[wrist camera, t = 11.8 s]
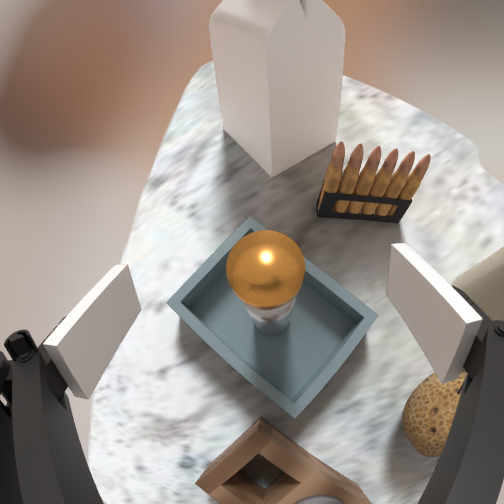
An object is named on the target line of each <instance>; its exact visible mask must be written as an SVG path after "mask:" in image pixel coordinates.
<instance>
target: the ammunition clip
mask: <svg viewBox="0 0 504 504" xmlns="http://www.w3.org/2000/svg"><path fill="white" fill-rule="evenodd" d="M344 157H345V147H344V143H343V142H342V141H341V142H340V143H339V144H338V145H337V146H336V148H335V150H334V152H333V154H332V158H331V161H330V164H329V166H328V168H327V171H326V175H325V180H324V181H323V185H322V188H321V191H320V195H319V198H318V201H317V216H318V217H327V218H342V219H356V220H369V221H382V222H394V223H399V221H400V220H401V218H402V217H403V215H404V214H405V212H406V211H407V209H408V208H409V206H410V204H411V203H412V199H411V198H412V197H413V195H414V194H415V192H416V191H417V189H418V188H419V186H420V184H421V181H422V179H423V177H424V175H425V173H426V171H427V169H428V167H429V163H430V154H428V155H426V156H424V157H423V158H422V159H421V160H420V161H419V163H418V164H417V165H416V167H415V169H414V170H413V171H412V173H411V174H410V175H409V172H410V170H411V168H412V166H413V163H414V159H415V152H414V151H412V152H410V153H409V154H408V155H407V156H406V157H405V158H404V159H403V161H402V162H401V164H400V166H399V167H398V169H397V171H396V172H395V173H394V174H393V175H392V173H393V171H394V168H395V166H396V163H397V159H398V149H397V148H396V149H394V150H392V151H391V152H390V154H389V155H388V156H387V158H386V159H385V161H384V163H383V165H382V167H381V169H380V170H379V171H378V172H377V174H376V171H377V169H378V165H379V162H380V158H381V147H380V146H377V147H376V148H375V149H374V150H373V151H372V152H371V154H370V156H369V158H368V160H367V162H366V164H365V166H364V168H363V169H362V171H361V172H360V175H359V171H360V167H361V163H362V159H363V146H362V144H359V145H357V146H356V148H355V149H354V151H353V152H352V154H351V157H350V160H349V162H348V164H347V167H346V168H345V170H344V172H343V175H342V168H343V162H344ZM408 175H409V176H408ZM341 178H342V179H341Z"/></svg>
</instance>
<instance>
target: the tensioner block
mask: <svg viewBox="0 0 504 504" xmlns="http://www.w3.org/2000/svg"><path fill="white" fill-rule="evenodd" d="M258 453H259V454H260V455H262V456H263V457H264V458H266V459H267V460H268V461H270V462H271V463H273V464H274V465H275V466H277V467H278V468H280V469H281V470H282V471H284V472H285V473H284V474H283V475H282V476H281V477H279V478H278V479H277V480H276V481H275V482H274V483H272V484H271V485H270V486H269V487H268V488H266V489H264V488H262V487H261V486H259V485H258V484H257V483H255V482H254V481H252V480H251V479H250V478H248V477H247V476H245V475H244V474H243V473H241V472H240V471H239V470H240V469H241V468H242V467H243V466H245V465H246V464H247V463H248V462H249V461H250V460H251V459H253V458H254V457H255V456H256V455H257V454H258ZM195 484H196V485H197V486H199V487H200V488H201V489H202V490H204V491H205V492H206V493H208V494H209V495H210V496H211V497H213V498H214V499H215V500H217V501H218V502H220V503H221V504H372V503H371V502H370V501H369V499H368V498H367V497H366V495H365V494H364V493H363V491H362V490H361V489H360V487H359V486H358V484H357V483H355V482H353V481H351V480H350V479H348V478H347V477H345V476H343V475H342V474H340V473H339V472H337V471H335V470H334V469H332V468H331V467H329V466H328V465H326V464H325V463H323V462H322V461H320V460H319V459H317V458H316V457H314V456H313V455H311V454H310V453H309V452H307V451H306V450H304V449H303V448H302V447H300V446H299V445H297V444H296V443H295V442H293V441H292V440H291V439H289V438H288V437H287V436H285V435H284V434H283V433H281V432H280V431H279V430H277V429H276V428H275V427H274V426H272V425H271V424H270V423H268V422H267V421H266V420H265V419H263V418H262V417H260V418H259V419H258V420H257V421H256V422H255V423H254V424H253V425H252V426H251V427H250V428H249V429H248V430H246V431H245V432H244V433H243V434H242V435H241V436H240V437H239V438H238V439H237V440H236V441H235V442H234V443H233V444H232V445H230V446H229V447H228V448H227V449H226V450H225V451H224V452H223V453H222V454H220V455H219V456H218V457H217V458H216V459H215V460H214V461H212V462H211V463H210V464H209V466H208V467H207V468H206V470H205V471H204V472H203V474H202V475H201V476H200V478H199V479H198V480H197V482H196V483H195Z"/></svg>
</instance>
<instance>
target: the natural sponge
mask: <svg viewBox="0 0 504 504" xmlns="http://www.w3.org/2000/svg"><path fill="white" fill-rule="evenodd" d="M466 376H467V373H466V372H461V373H460V375H459V377H458V379H456V380H453V381H450V382H447V383H444V384H441V382H440V380H439V378H438V376H437V375H436V373H433V374H431V375H430V376H429V377H427V378H426V379H425V380H424V381H423V382H421V383H420V384H419V385H418V386H417V388H416V389H415V390H414V391H413V393H412V394H411V396H410V397H409V399H408V401H407V403H406V405H405V407H404V410H403V414H402V421H403V427H404V430H405V433H406V435H407V437H408V438H409V440H410V441H411V443H412V444H413V446H414V447H415V448H416V449H417V451H418V452H419V453H420V454H422V455H424V456H427V457H435V456H439V455H441V453H442V450H443V448H444V445H445V443H446V440H447V437H448V434H449V431H450V428H451V425H452V422H453V419H454V416H455V413H456V409H457V406H458V402H459V399H460V395H461V392H460V394H457V393H458V391H459V389H460V387H461V385H462V383H463V381H464V380H465V378H466Z"/></svg>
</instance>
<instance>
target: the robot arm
mask: <svg viewBox="0 0 504 504" xmlns="http://www.w3.org/2000/svg"><path fill="white" fill-rule="evenodd" d="M386 294H387V296H388V297H389V299H390V300H391V302H392V303H393V305H394V306H395V308H396V309H397V311H398V312H399V314H400V315H401V317H402V318H403V320H404V322H405V323H406V325H407V326H408V328H409V329H410V331H411V333H412V334H413V336H414V337H415V339H416V341H417V342H418V344H419V346H420V347H421V349H422V351H423V352H424V354H425V356H426V357H427V359H428V361H429V362H430V364H431V366H432V368H433V369H434V371H435V373H436V375H437V376H438V378H439V380H440V382H441V384H444V383H447V382H450V381H453V380H456V379H458V377H459V375H460V373H461V371H462V368H463V367H464V369H465V371H466V372H467V376H466V378H465V380H464V381H463V383H462V385H461V387H460V389H459V391H458V393H457V394H460V392H461V395H460V399H459V402H458V406H457V409H456V413H455V416H454V419H453V422H452V425H451V428H450V431H449V434H448V437H447V440H446V443H445V445H444V448H443V450H442V453H441V455H440V458H439V460H438V463H437V465H436V467H435V470H434V472H433V474H432V476H431V478H430V481H429V483H428V485H427V487H426V489H425V491H424V493H423V495H422V497H421V499H420V500H419V502H418V504H496V502H497V499H498V496H499V492H500V489H501V486H502V482H503V479H504V321H501V320H495V321H492V320H491V319H490V318H489V317H488V316H487V315H486V314H485V313H484V311H483V310H482V309H481V308H480V307H479V306H478V305H477V304H475V302H474V301H473V300H472V299H470V297H469V296H468V295H467V294H466V293H465V292H464V291H463V290H461V289H459V288H457V287H455V286H451V285H450V284H449V283H448V282H446V281H445V280H444V279H443V278H442V277H441V276H440V275H439V274H438V273H437V272H436V271H435V270H434V269H433V268H432V267H431V266H430V265H429V264H427V263H426V262H425V261H424V260H423V259H422V258H421V257H420V256H419V255H418V254H416V253H415V252H414V251H413V250H412V249H411V248H410V247H409V246H407V245H406V244H405V243H398V244H391V253H390V263H389V272H388V280H387V288H386ZM140 311H141V307H140V304H139V300H138V297H137V294H136V291H135V288H134V284H133V281H132V277H131V274H130V271H129V267H128V264H124V265H115V266H114V267H113V268H112V269H111V270H110V271H109V272H108V273H107V274H106V275H105V276H104V277H103V278H102V279H101V280H100V281H99V282H98V283H97V284H96V285H95V286H94V287H93V289H92V290H91V291H90V292H89V293H88V294H87V295H86V296H85V297H84V298H83V299H82V300H81V301H80V302H79V303H78V305H76V307H75V308H74V309H73V310H72V311H71V312H70V313H69V314H68V315H67V316H66V317H64V318H63V319H62V321H60V323H59V324H58V326H56V327H55V328H54V329H53V331H52V332H51V333H50V334H49V335H48V336H47V338H46V339H45V340H44V341H43V342H42V343H41V345H40V346H39V347H38V348H37V346H36V344H35V342H34V341H33V339H32V337H31V335H30V333H29V331H27V330H20V331H17V332H15V333H13V334H11V335H10V336H9V337H8V338H7V339H6V340H5V343H4V346H5V348H6V349H7V351H8V353H9V354H10V356H11V358H12V360H9V361H8V360H7V358H6V357H5V355H4V353H3V352H1V351H0V394H2V396H3V397H4V398H5V399H6V401H7V405H6V406H5V405H4V404H3V403H2V402H1V400H0V504H104V503H103V501H102V499H101V497H100V495H99V492H98V490H97V488H96V485H95V483H94V480H93V478H92V475H91V472H90V470H89V467H88V464H87V462H86V459H85V456H84V453H83V450H82V447H81V444H80V441H79V437H78V434H77V430H76V427H75V423H74V419H73V415H72V412H71V407H70V403H69V398H68V396H67V395H66V393H65V390H66V389H67V387H69V388H70V390H71V391H72V393H73V394H74V396H76V397H80V398H84V399H89V398H90V396H91V395H92V393H93V391H94V389H95V387H96V385H97V384H98V382H99V380H100V378H101V377H102V375H103V373H104V371H105V369H106V368H107V366H108V364H109V363H110V361H111V359H112V357H113V356H114V354H115V352H116V351H117V349H118V347H119V345H120V344H121V342H122V340H123V339H124V337H125V336H126V334H127V332H128V331H129V329H130V327H131V326H132V324H133V322H134V321H135V319H136V318H137V316H138V314H139V313H140Z"/></svg>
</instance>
